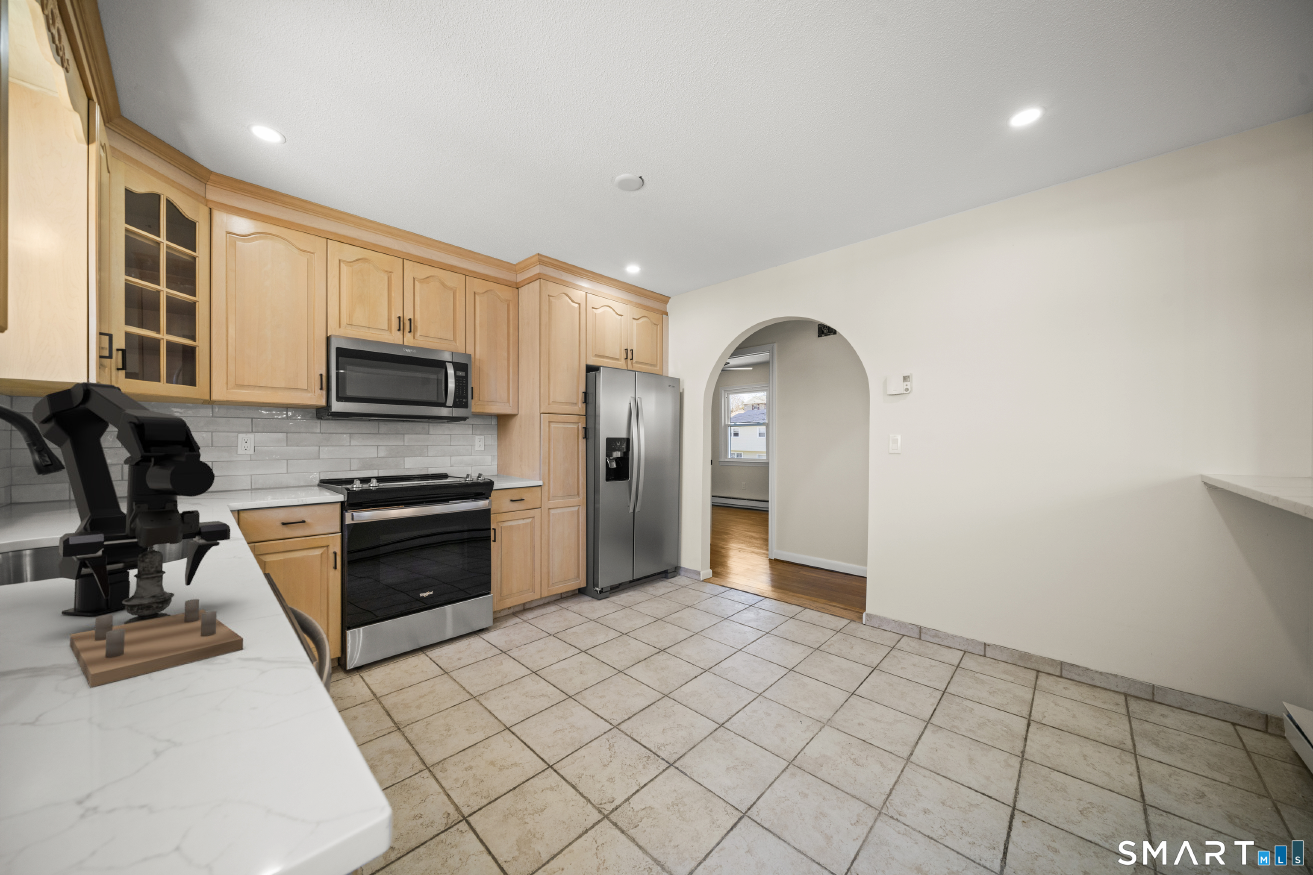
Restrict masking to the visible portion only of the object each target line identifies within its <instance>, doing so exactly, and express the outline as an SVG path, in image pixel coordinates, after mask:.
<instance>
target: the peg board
mask: <svg viewBox="0 0 1313 875" xmlns="http://www.w3.org/2000/svg"><path fill="white" fill-rule="evenodd" d="M217 613H218V612H217V610H209V611H206V610H205V609H200V599H199V598H195V599H189V600H185V601H184V612H182V613H177V614H172V615H171V614H170V615H171V616H166V617H160V618H155V619H150V620H145V621H139V622H134V623H129V624H120V625H114V624H113V619H114V615H113V614H111V613H110V614H101V615H97V616H95V621H94V622H95V625H94V629H93V630H92V629H91V630H87V631H82V632H77V633H71V634H70V638H69V639H70V640H69V646H70V648H71V650H72V652H73V654H74V657H75V658H76V661H77V662H78V664H79V667H80V669H81V671H82V673H83V675H84V676H85V679H86V681H87V682H88V684H89V687H90V688H93V687H97V686H98V687H99V686H101V685H106V684H109V683H113V682H118V681H121V680H125V679H126V680H127V679H129V678H130V679H131V678H133V677H138V676H141V675H145V674H149V673H153V672H157V671H162V670H165V669H169V668H174V667H177V666H181V665H185V664H190V663H194V662H198V661H202V660H206V659H209V658H214V657H217V656H221V655H224V654H225V655H226V654H230V653H233V652H237V651H241V650H244V637H242V636H241V635H239V634H238V633H236V632H235V631H234V630H232V629H231V628H230V627H229V626H227V625H225V624H224V623H223V622H221V621H220V620H219V619H218V618H217ZM113 625H114V626H113Z"/></svg>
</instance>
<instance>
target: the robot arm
mask: <svg viewBox="0 0 1313 875" xmlns="http://www.w3.org/2000/svg"><path fill="white" fill-rule="evenodd" d="M31 415H32V420H33V422H34V424H36V425H37V427H38V429H39V432H40V433H41V434H40V435H41V436H42V437H43V438H44V439H46V440H48V441H49V442H50V443H52V444H53V445H54V446H56V447H57V448H59V449H60V452H61V455H62V459H63V463H64V466H65V469H66V473H67V474H66V475H67V477H68V480H69V484H70V488H71V491H72V495H73V498H74V499H73V500H74V502H75V507H76V509H77V513H78V517H79V522H80V523H79V525H78V527H77V528H76V529H75V531H74V532H68V533H67V532H66V533H64V534H63V535H61V536H60V537H59V540H58V553H59V554H60V556H61V557H62V559H61V560H60V561H59V563H58V572H59V577H60V578H62V579H68V580H72V581H74V601H73V604H74V605H73V607H72V608H68V609H64V610H62V611H61V614H62V615H69V616H70V615H71V616H74V615H75V616H87V617H89V616H90V617H96V616H101V615H104V614H106V613H110V612H114V611H118V610H122V609H125V604H123V603H122V601H123V600H125V599H127V598H130V597H131V596H130V593H131V590H130V589H131V581H130V571H133V570H138V556H139V555H140V554H142V553H143V552H146V551H147V550H149V547H150V546H153V547H154V546H157V545H165V544H170V545H176V544H180V543H181V542H182V540H189V541H188V547H187V556H186V562H185V564H186V565H185V571H184V584H185V586H190V585H191V584H192V581H193V579H194V577H195V576H196V573H197V571H198V569H199V567H200V565H201V563H202V561H203V559H204V558H205V556H206V555H207V553H208V552H209V551H210V550H211V549H212V548H213V547H217V546H220V544H221V542H222V541H228V540H229V541H230V540H231V527H230V525H229V524H228V523H225V522H223V521H220V520H214V521H201V522H200V512H199V510H198V509H195V510H194V509H192V510H182V511H181V512H180V511H179V508H178V506H179V504H178V497H189V498H190V497H193V498H194V497H199V496H201V495H203V494H205V493H206V492H207V491H209V490H210V488H212V486H213V485H214V482H215V478H216V477H215V473H214V471H213V469H212V467H211V466H210V465H209V464H208V463H207V462H204V461H203V460H201V456H202V453H201V452H200V450H201V447H200V445H199V444H198V441H197V440H196V438H195V437H194V435H193V433H192V431H191V428H190V427H189V425H188V424H187V423H186V420H185V419H184V418H182V417H179V416H176V415H173V414H168V413H163V412H158V411H154V410H151V409H149V408H147V407H146V406H144V405H143V404H141V403H140V402H138V401H136V400H135V399H133V398H132V397H130V396H128V394H126V393H124V392H123V391H122V389H121V388H120V386H116V385H115V384H109V383H108V384H107V383H98V382H96V383H95V382H87V381H83V382H81V383H80V382H76V383H75V384H73V386H71V387H70V388H66V389H63V390H58V391H55V392H51V393H48V394H46V395H44V397H43V398H41V399H40V400H39V401H37V402H36V403H35V404H34V406H33V409H32V414H31ZM110 425H111V426H113V427H114V428H116V429H117V433H116V437H115V438H116V440H117V441H118V442H119V443H120V444H121V446H123V448H124V450H126V451H127V453H128V454H129V456H127V457H126V458H125V459H124V460H123V464H124V465H127V466H128V467H127V469H128V470H127V488H126V489H127V490H126V494H127V495H126V512H124V511H123V510H122V508H121V505H120V502H119V498H118V495H117V491H116V488H115V485H114V481H113V476H112V473H111V471H110V468H109V464H108V461H107V458H106V454H105V452H104V448H103V444H102V440H101V439H102V437H103V436H104V435H105V433H106V432H107V431H108V429H109V427H110ZM190 539H191V540H190ZM192 539H193V540H192ZM220 541H221V542H220Z"/></svg>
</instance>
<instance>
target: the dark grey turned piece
mask: <svg viewBox="0 0 1313 875" xmlns="http://www.w3.org/2000/svg"><path fill="white" fill-rule="evenodd" d="M163 562H164V554H163V552H162V551H159V550H156V549H154V545H153V546H150V547H149V548H148V550H147V551H146V552H143V553H142V554H140V555H139V556H138V569H136V570H137V573H136V574H134V575H133V578H136V579H135V580H136V582H135V590H134V592H133V595H131V596H130V597H129V598H127V599H125V600H123V601H122V603H123V604H125V608H124V609H125V610H126V613H128V614H130V615H131V616H133V617H132V618H131V617H130V618H129V619H127V620H126V621H125V622H124V624H129V623H134V622H139V621H145V620H150V619H155V618H160V617H166V616H171V614H169V613H166V612H163V611H165V610H166V609H168V607H169V606H170V605H171V603H172V601H173V600H172V598H174V597H175V593H174V592H167V591H166V590H165V588H164V586H163V582H164V581H163V580H164V579H163V578H164V574H166V571H165V570H163V569H164V568H163V566H164V565H163V564H164V563H163Z"/></svg>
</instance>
